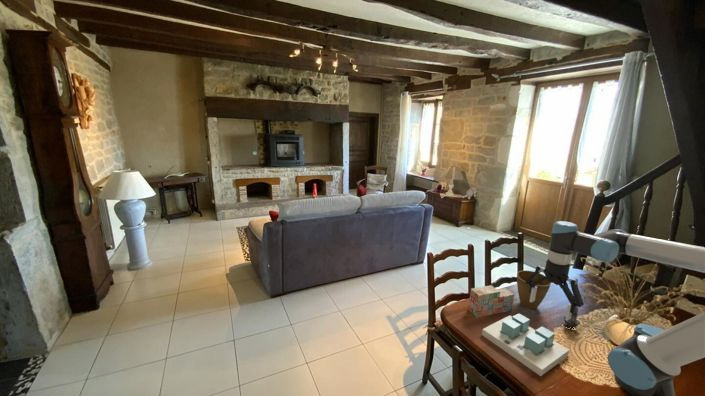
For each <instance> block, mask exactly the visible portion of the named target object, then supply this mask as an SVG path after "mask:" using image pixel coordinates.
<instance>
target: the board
mask: <svg viewBox="0 0 705 396" xmlns="http://www.w3.org/2000/svg"><path fill="white" fill-rule="evenodd" d="M512 317H513V316H512V315H508V316H505V317H503V318H502V319H500V320H498V321H496V322H494V323H491V324H489V325H488V326H486V327H484V328H482V331H481V332H482V333H481V336H483V337H484V338H486V339H487V340H488V341H490V342H492V343H493V344H494V345H496V346H497V347H499V348H500V349H501V350H502V351H504V352H506V353H507V354H508V355H510V356H511V357H513V358H514V359H516V360H517V361H518V362H520V363H521V364H523V365H524V366H525V367H527V368H528V369H529V370H531V371H533V372H534V373H535V374H537V375H538V376H540V377H542V376H544V375H545V374H546V373H548V372H549V371H550V370H551V369H553V368H554V367H556V365H558V364H559V363H561V362H562V361H563V360H565V359H566V358H567V357H569V354H570V349H569V348H567V347H566V346H565V347H564V345H562V344H561V343H558V342H556V341H555V340H553V344H552V345H550V346H549V347H547V348H545V347H544V350H543V351H541V352H540V353H538V354H537V355H536V354H535V353H533V352H532V351H530V350H528V349H527V348H525V347H524V343H525V338H526V336H527V335H528V334H530V333H532V332H534V333H535V330H536V329H534V328H533V327H532V326H529V328H528V330H526V331H525V332H523V333H521V332H519V335H518V336H516V337H514V338H510V337H509V336H507V335H505V334H504V333H502V332H501V328H502V322H503V321H505V320H507V319H509V318H510V319H512Z"/></svg>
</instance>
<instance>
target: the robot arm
mask: <svg viewBox="0 0 705 396" xmlns="http://www.w3.org/2000/svg"><path fill="white" fill-rule="evenodd" d="M548 246H549V247H548V250H547V255H546V261H545V267H543V265H537V266H536V267H535V269H534V271H533V272H534V273H533V274H532V275H531V276H530V277H529V278H528V279H527V280H526V281H525V283H526V284H529V286H530V288H529V293H530V294H531V296H530V301H529V302H531V303H532V302H534V301H535V297H536V291H537V287H536V286H535V285H537V284H539V283H541V282H543V281H545V280H548V281H549V282H551V284H552V283H553V284H554V285H556V286H559V288H560V289H561V290H562V291H563V293H564V295H565V296H566V298H567V300H568V305H567V309H566V314H565V316H566V318H565V320H567V321H568V320H569V319H571V315H572V314H573V313H575V311H576V307H578V308H581V307H582V306H584V304H585V303H584V301H583V297H582V295H581V291H580V289H579V285H578V282H579V280H578V279H577V278H571V277H569V273H570V268H571V263H572V259H573V258H572V257H573V253H575V252H576V253H577V254H579V255H580V254H581V255H583V256H585V257H589V258H592V259H595V260H597V261H603V262H606V263H612V262H613V261H614V260H615V259H616V258H617V257H618V255H619V254H623V255H626V256H631V257H636V258H638V259H644V260H648V261H652V262H656V263H657V262H658V263H661V264H666V265H669V266H674V267H678V268H683V269H688V270H691V271H696V272H700V273H704V274H705V247H704V246H701V245H699V246H698V245H694V244H689V243H688V244H687V243H684V242H683V243H682V242H677V241H671V240H666V239H659V238H655V237H648V236H644V235H638V234H633V233H628V232H626V231H625V230H623V229H613V228H612V229H608V230H605V231H603V232H600V233H596V234H591V233H585V232H583V231H579V227H578V224H576V223H574V222H570V221H564V220H558V221H555V222H553V224H552V229H551V232H550V240H549V245H548ZM539 273H540V274H541V273H544V274H543V275H544V276H545V277H543V278H541V279H539V280H537V281H535V282H532V281H533V280H534V279H535V277H536V276H537V275H538V274H539ZM568 282H569V283H568ZM569 285H570V286H569ZM570 288H571V289H570ZM633 330H634V331H633V334H632V336H631V337H629V338H628V339H626V340H624V341H623V342H621V343H620V344H619V345H617V346H616V347H613V348H612V349H610V352H608V354H607V364H608V365H609V368H610V370H611V371H612V373H613V374H614V375H613V376H614V379H615V381H616V382H617V384H618V385H619V386H620V387H621V389H623V390H624V391H625V392H627V393H628V394H629V395H631V396H676V392H675V388H674V382H673V381H674V377H676V376H679V375H680V374H681V370H682V369H681V367H682V366H685V365H689V364H690V363H693V362H696V361H698V360H702V359H704V358H705V311H703V312H700V313H698V314H697V315H695V316H693V317H691V318H688V319H686V320H684V321H682V322H680V323H677V324H675V325H672V326H671V327H669V328H667V329H662V328H660V327H658V326H654V325H650V324H645V323H639V324H637V325H635V327H634V328H633Z"/></svg>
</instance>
